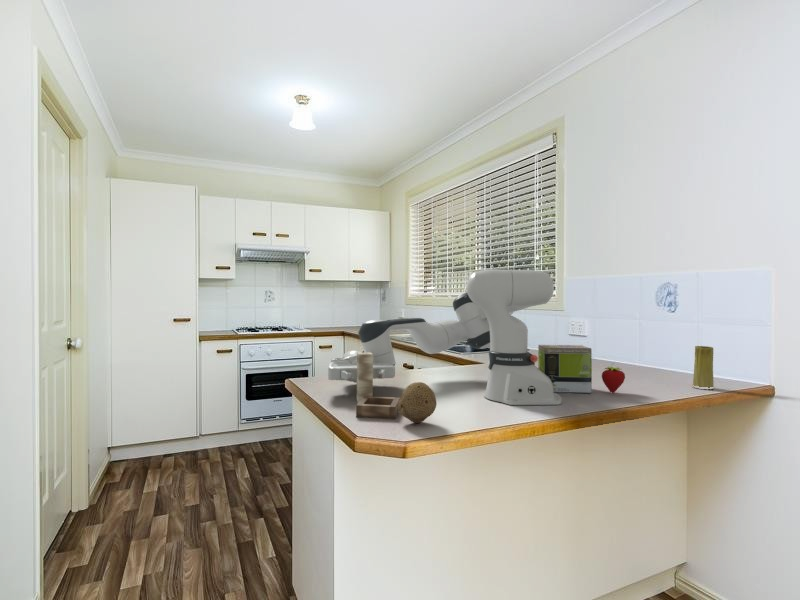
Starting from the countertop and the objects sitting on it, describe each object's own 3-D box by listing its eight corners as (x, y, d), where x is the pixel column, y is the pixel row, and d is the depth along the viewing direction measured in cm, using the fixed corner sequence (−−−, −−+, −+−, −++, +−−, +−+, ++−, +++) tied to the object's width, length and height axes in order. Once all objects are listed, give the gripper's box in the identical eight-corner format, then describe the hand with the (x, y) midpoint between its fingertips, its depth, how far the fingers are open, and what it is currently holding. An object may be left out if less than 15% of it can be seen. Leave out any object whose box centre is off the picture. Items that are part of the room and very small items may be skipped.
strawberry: (629, 394, 144) (630, 363, 144) (609, 395, 142) (609, 363, 142) (616, 390, 150) (617, 360, 150) (596, 391, 148) (597, 360, 148)
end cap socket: (399, 408, 123) (400, 397, 123) (395, 418, 113) (395, 406, 113) (363, 407, 124) (363, 396, 124) (356, 417, 114) (356, 405, 114)
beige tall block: (370, 399, 132) (370, 352, 132) (372, 403, 129) (373, 354, 128) (356, 400, 131) (357, 352, 131) (358, 403, 128) (359, 354, 127)
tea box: (582, 387, 154) (583, 344, 154) (591, 394, 144) (592, 348, 144) (537, 386, 155) (538, 343, 155) (543, 392, 145) (544, 346, 145)
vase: (718, 390, 152) (719, 348, 152) (699, 390, 152) (700, 347, 152) (706, 386, 158) (707, 345, 158) (688, 386, 158) (689, 345, 158)
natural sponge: (444, 425, 107) (445, 384, 107) (412, 431, 103) (413, 387, 103) (423, 416, 115) (424, 377, 115) (393, 421, 111) (393, 380, 111)
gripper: (390, 377, 145) (400, 385, 132) (326, 379, 140) (329, 388, 127) (390, 357, 145) (400, 364, 131) (326, 358, 140) (329, 366, 127)
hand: (365, 376), depth 129 cm, fingers open, 8 cm apart
